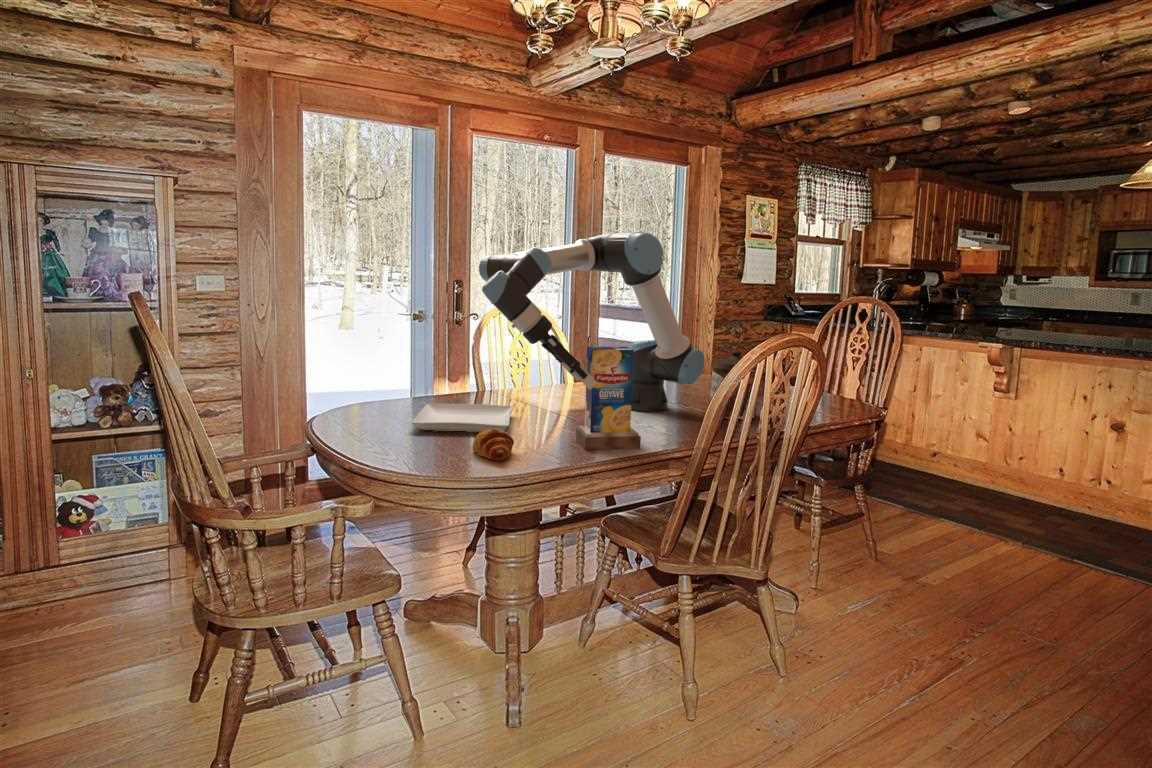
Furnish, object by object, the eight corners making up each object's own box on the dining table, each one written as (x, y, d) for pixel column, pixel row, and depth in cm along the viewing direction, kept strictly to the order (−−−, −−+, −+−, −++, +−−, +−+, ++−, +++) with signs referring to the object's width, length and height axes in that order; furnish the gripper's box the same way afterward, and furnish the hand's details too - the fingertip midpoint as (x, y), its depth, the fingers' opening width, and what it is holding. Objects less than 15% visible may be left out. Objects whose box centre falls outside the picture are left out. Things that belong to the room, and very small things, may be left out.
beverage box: (630, 432, 190) (633, 349, 187) (590, 432, 188) (593, 349, 184) (623, 426, 197) (626, 346, 193) (584, 427, 195) (586, 346, 191)
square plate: (410, 434, 198) (410, 421, 198) (427, 414, 225) (427, 402, 225) (508, 437, 199) (508, 423, 199) (513, 416, 226) (514, 404, 226)
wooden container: (704, 410, 242) (708, 346, 238) (747, 411, 243) (751, 347, 239) (715, 420, 227) (720, 351, 224) (761, 421, 228) (766, 352, 225)
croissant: (474, 456, 190) (460, 431, 188) (507, 437, 192) (493, 412, 190) (490, 477, 170) (475, 449, 168) (527, 456, 172) (512, 428, 170)
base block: (628, 438, 200) (628, 424, 200) (640, 448, 190) (640, 433, 189) (575, 439, 197) (576, 425, 196) (585, 449, 186) (585, 434, 186)
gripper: (514, 329, 195) (566, 383, 200) (529, 339, 171) (588, 400, 176) (534, 310, 195) (585, 365, 201) (552, 317, 171) (609, 379, 177)
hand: (587, 381), depth 189 cm, fingers open, 13 cm apart
